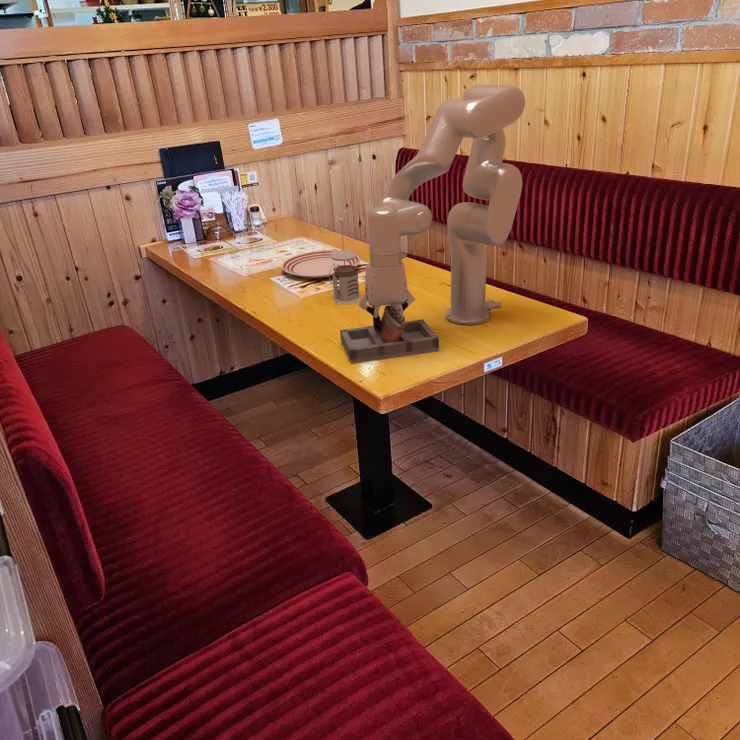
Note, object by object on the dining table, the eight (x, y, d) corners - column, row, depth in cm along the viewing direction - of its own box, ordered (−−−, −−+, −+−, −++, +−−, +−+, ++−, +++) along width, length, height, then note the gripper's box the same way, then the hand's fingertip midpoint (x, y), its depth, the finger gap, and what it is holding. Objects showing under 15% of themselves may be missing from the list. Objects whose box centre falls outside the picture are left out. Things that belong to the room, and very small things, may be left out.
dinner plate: (325, 288, 217) (325, 278, 215) (265, 275, 232) (264, 266, 231) (376, 265, 236) (376, 256, 235) (318, 255, 251) (317, 246, 250)
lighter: (374, 328, 172) (384, 298, 165) (385, 326, 173) (396, 297, 167) (388, 349, 167) (399, 320, 160) (399, 347, 169) (411, 318, 162)
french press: (369, 296, 207) (364, 215, 196) (346, 308, 198) (341, 224, 187) (343, 291, 212) (338, 212, 201) (320, 303, 204) (313, 221, 193)
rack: (423, 331, 180) (423, 319, 178) (438, 351, 168) (438, 338, 167) (341, 342, 176) (340, 330, 174) (351, 363, 164) (350, 350, 163)
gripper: (414, 251, 167) (415, 319, 175) (348, 258, 164) (352, 327, 172) (423, 259, 160) (424, 330, 168) (354, 267, 157) (358, 338, 165)
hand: (387, 328), depth 170 cm, fingers open, 4 cm apart
